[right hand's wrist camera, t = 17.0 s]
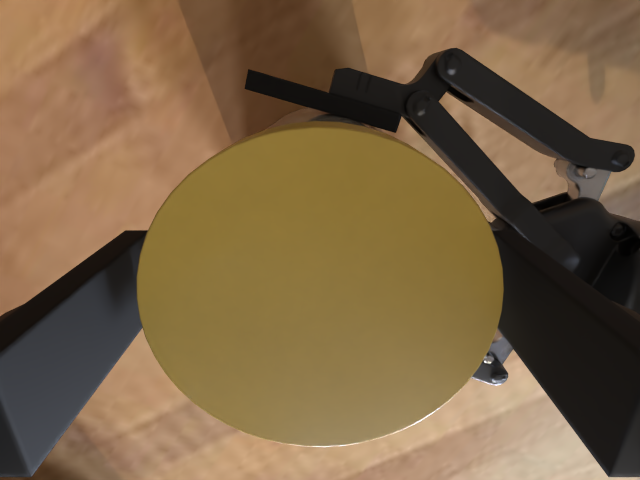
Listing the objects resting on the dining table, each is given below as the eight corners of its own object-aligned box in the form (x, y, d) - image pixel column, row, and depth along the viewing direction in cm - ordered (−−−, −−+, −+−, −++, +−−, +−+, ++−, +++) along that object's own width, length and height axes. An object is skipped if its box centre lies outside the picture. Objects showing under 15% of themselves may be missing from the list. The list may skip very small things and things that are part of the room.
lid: (503, 115, 10) (535, 120, 8) (461, 405, 13) (478, 444, 12) (128, 125, 10) (95, 131, 8) (186, 410, 14) (169, 450, 12)
